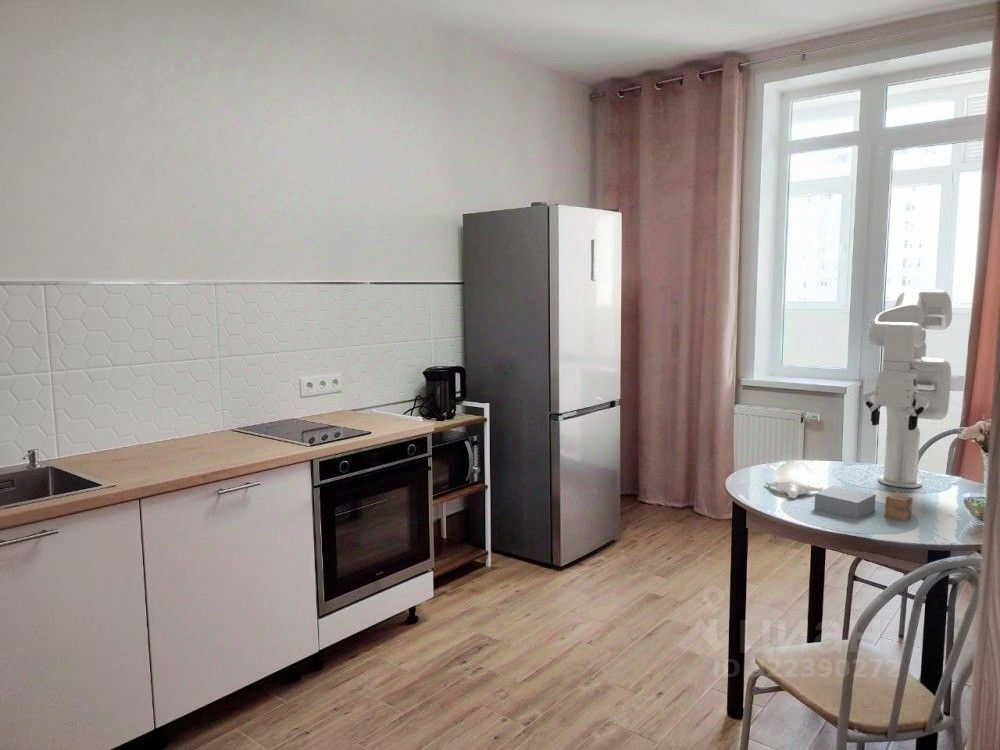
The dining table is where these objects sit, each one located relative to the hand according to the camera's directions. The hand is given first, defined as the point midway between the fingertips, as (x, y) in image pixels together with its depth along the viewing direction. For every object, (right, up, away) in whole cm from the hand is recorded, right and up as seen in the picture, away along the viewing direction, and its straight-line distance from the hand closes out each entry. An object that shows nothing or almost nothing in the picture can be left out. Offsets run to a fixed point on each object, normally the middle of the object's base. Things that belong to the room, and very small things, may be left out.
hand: (893, 427), depth 198 cm
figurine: (-17, -22, +27) cm, 39 cm away
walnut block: (0, -25, -2) cm, 25 cm away
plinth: (-11, -25, +6) cm, 28 cm away
